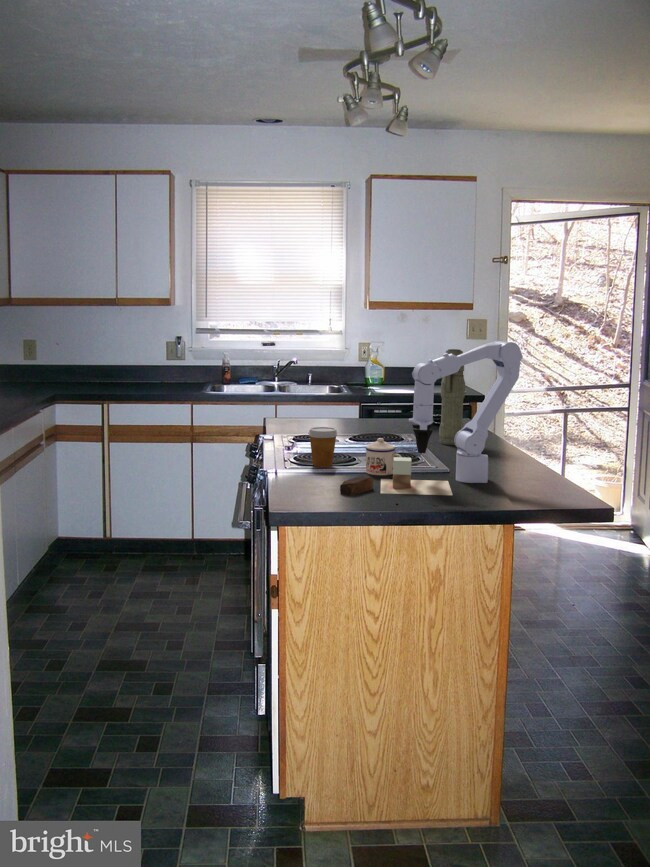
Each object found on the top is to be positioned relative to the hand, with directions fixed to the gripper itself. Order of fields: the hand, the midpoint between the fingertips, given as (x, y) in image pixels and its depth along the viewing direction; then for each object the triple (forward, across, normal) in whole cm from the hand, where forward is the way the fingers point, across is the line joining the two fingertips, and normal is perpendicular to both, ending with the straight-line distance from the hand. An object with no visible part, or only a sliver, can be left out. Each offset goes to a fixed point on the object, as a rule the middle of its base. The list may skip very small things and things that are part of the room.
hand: (421, 450), depth 255 cm
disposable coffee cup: (+11, -24, -30) cm, 40 cm away
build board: (+10, +7, -2) cm, 13 cm away
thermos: (+10, -71, +14) cm, 73 cm away
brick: (+11, +14, -18) cm, 26 cm away
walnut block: (+10, +7, -6) cm, 13 cm away
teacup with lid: (+11, -11, -10) cm, 19 cm away
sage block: (+6, +7, -6) cm, 10 cm away
